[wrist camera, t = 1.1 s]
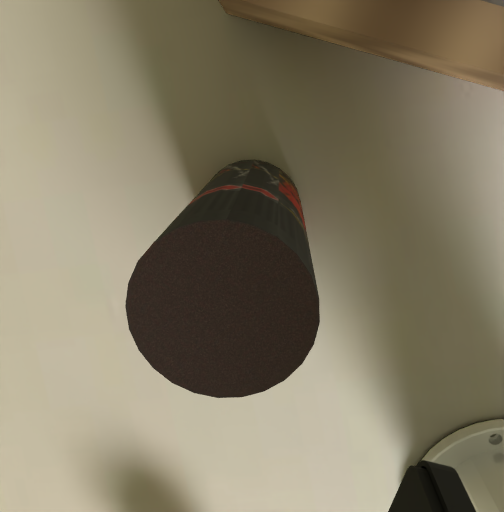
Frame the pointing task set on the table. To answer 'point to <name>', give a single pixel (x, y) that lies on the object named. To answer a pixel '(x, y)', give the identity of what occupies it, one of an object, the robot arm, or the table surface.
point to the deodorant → (228, 287)
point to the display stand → (398, 30)
